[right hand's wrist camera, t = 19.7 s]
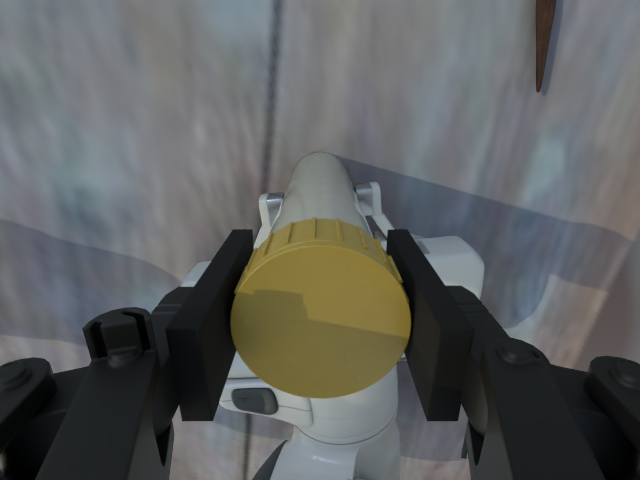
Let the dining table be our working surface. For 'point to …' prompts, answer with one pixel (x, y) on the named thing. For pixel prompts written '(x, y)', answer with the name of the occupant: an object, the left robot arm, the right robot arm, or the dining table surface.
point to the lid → (320, 310)
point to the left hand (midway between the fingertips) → (318, 189)
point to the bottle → (320, 194)
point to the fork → (543, 35)
